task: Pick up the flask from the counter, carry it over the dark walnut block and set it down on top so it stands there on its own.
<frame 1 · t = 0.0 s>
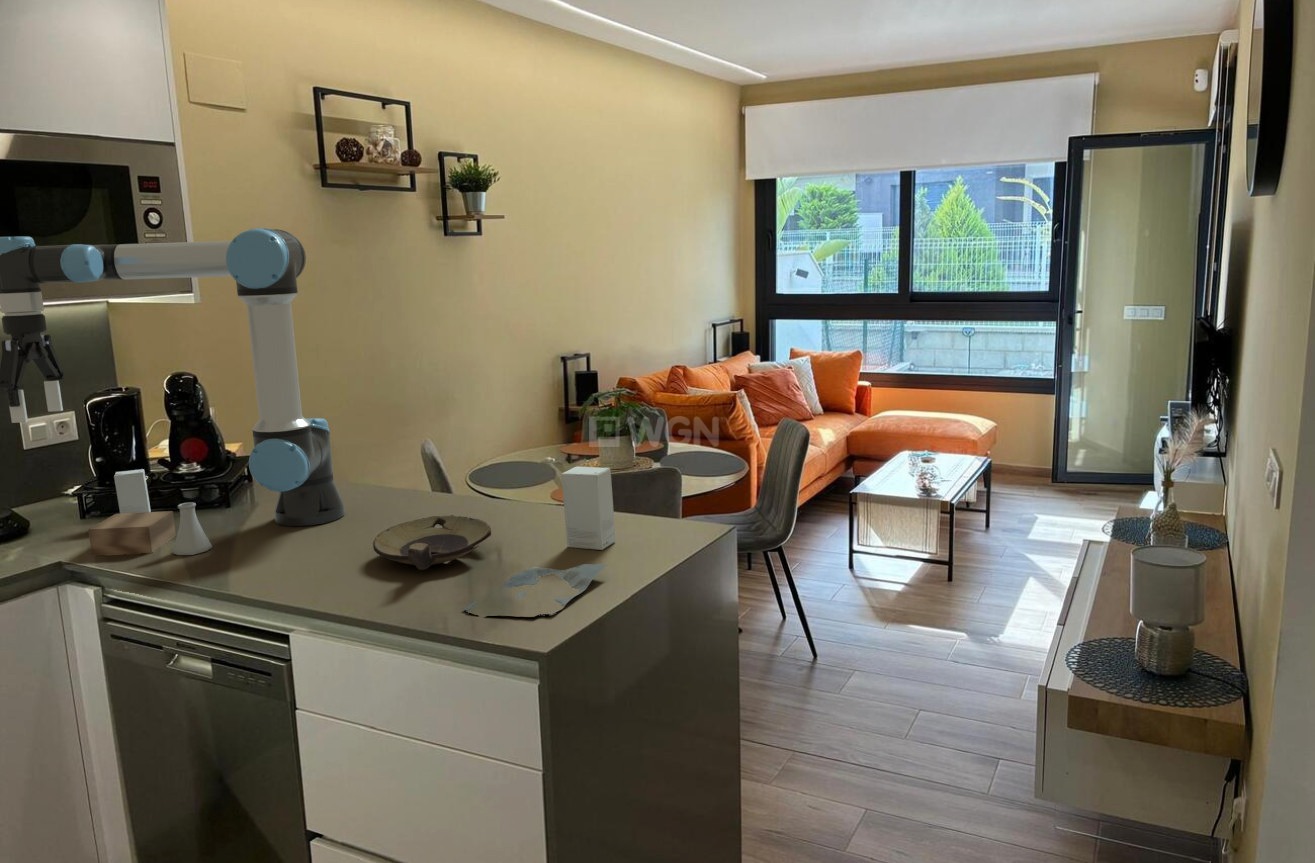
hand: (38, 416, 205), 28 cm above the counter, tool pointing down, fingers open, 13 cm apart
skincare box: (590, 545, 199), on the counter
walnut block: (135, 547, 209), on the counter
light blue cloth: (536, 597, 172), on the counter
flask: (192, 552, 204), on the counter
oil lamp: (426, 562, 192), on the counter
skincare box 2: (136, 523, 227), on the counter
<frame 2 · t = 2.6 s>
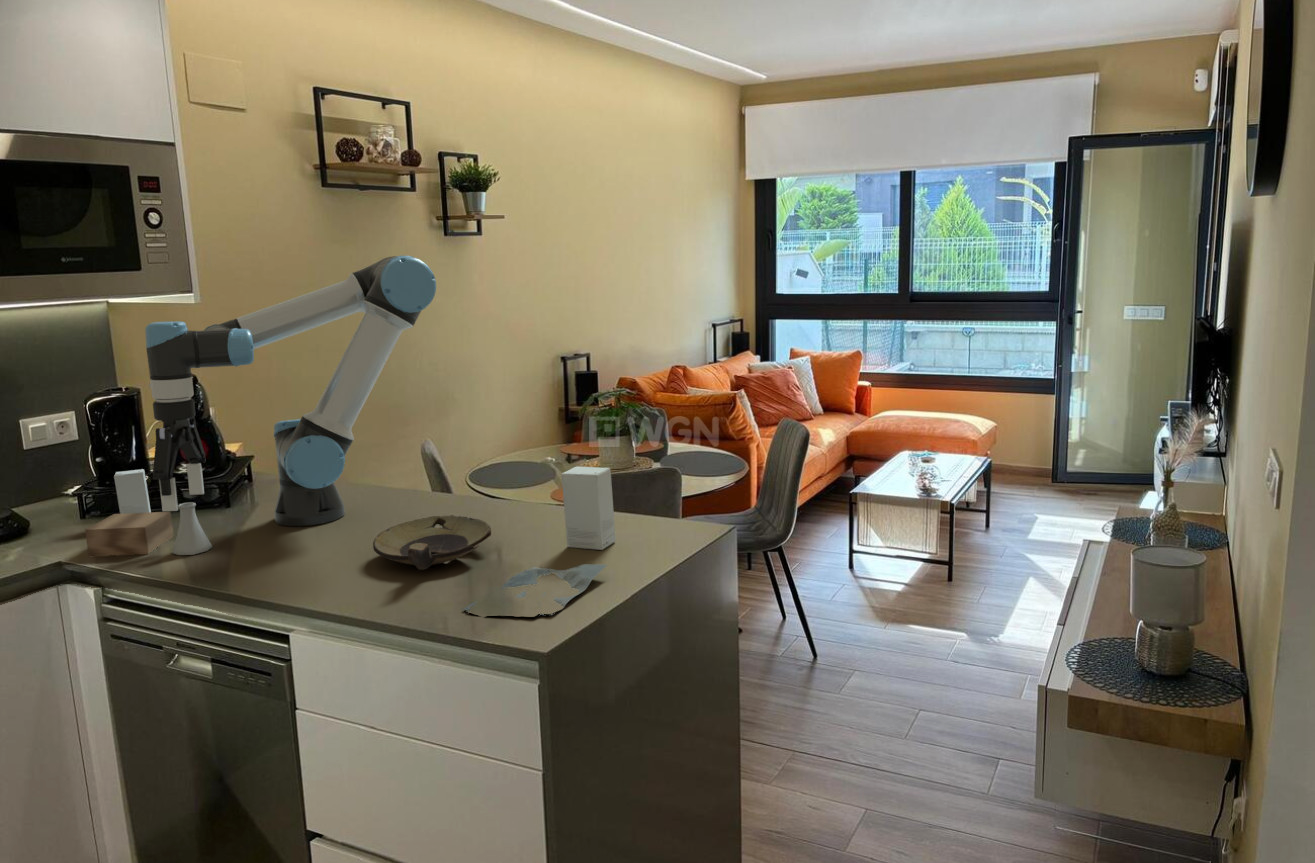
hand: (184, 502, 202), 10 cm above the counter, tool pointing down, fingers open, 13 cm apart
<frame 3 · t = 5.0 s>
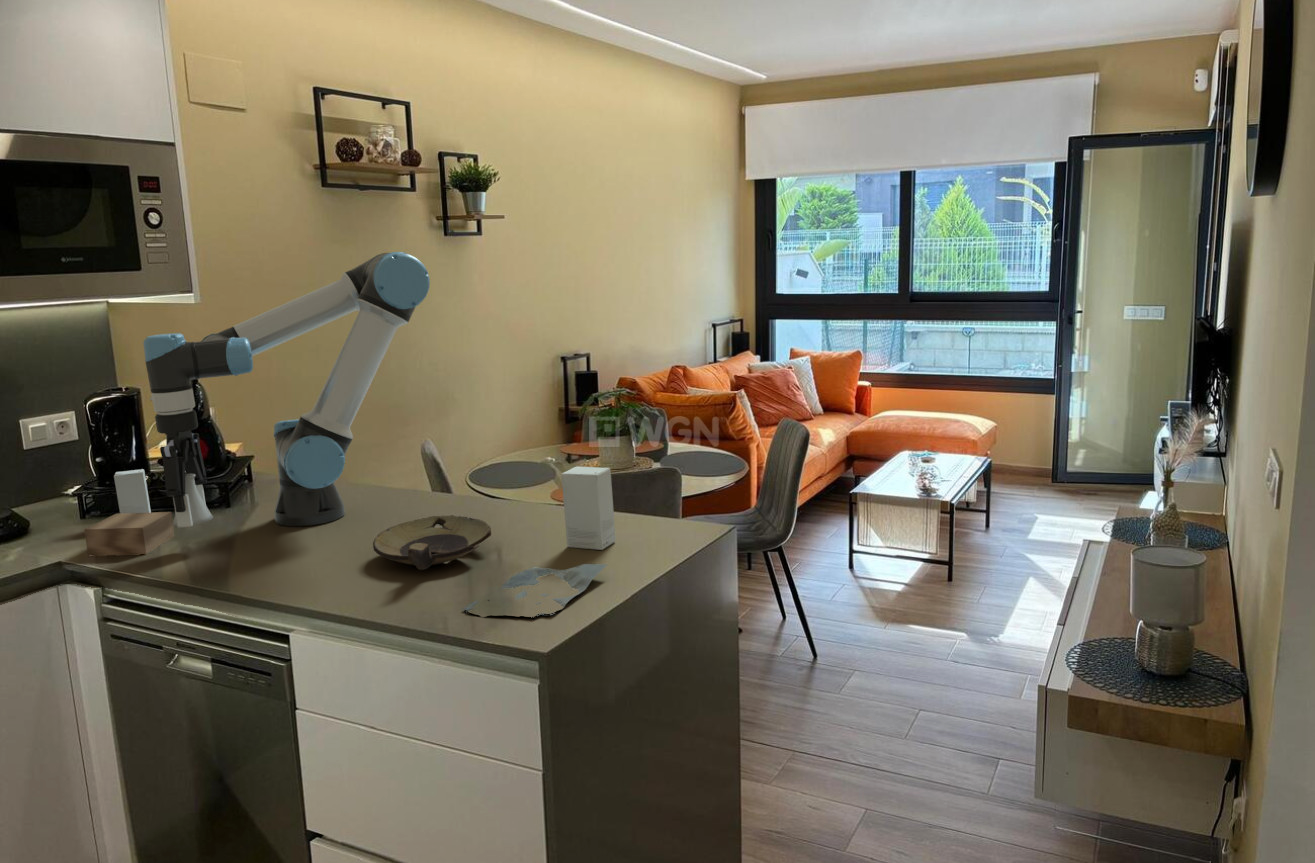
hand: (192, 520, 203), 6 cm above the counter, tool pointing down, fingers closed on flask, 7 cm apart
flask: (193, 523, 203), point 6 cm above the counter, touching gripper
everything else where it was.
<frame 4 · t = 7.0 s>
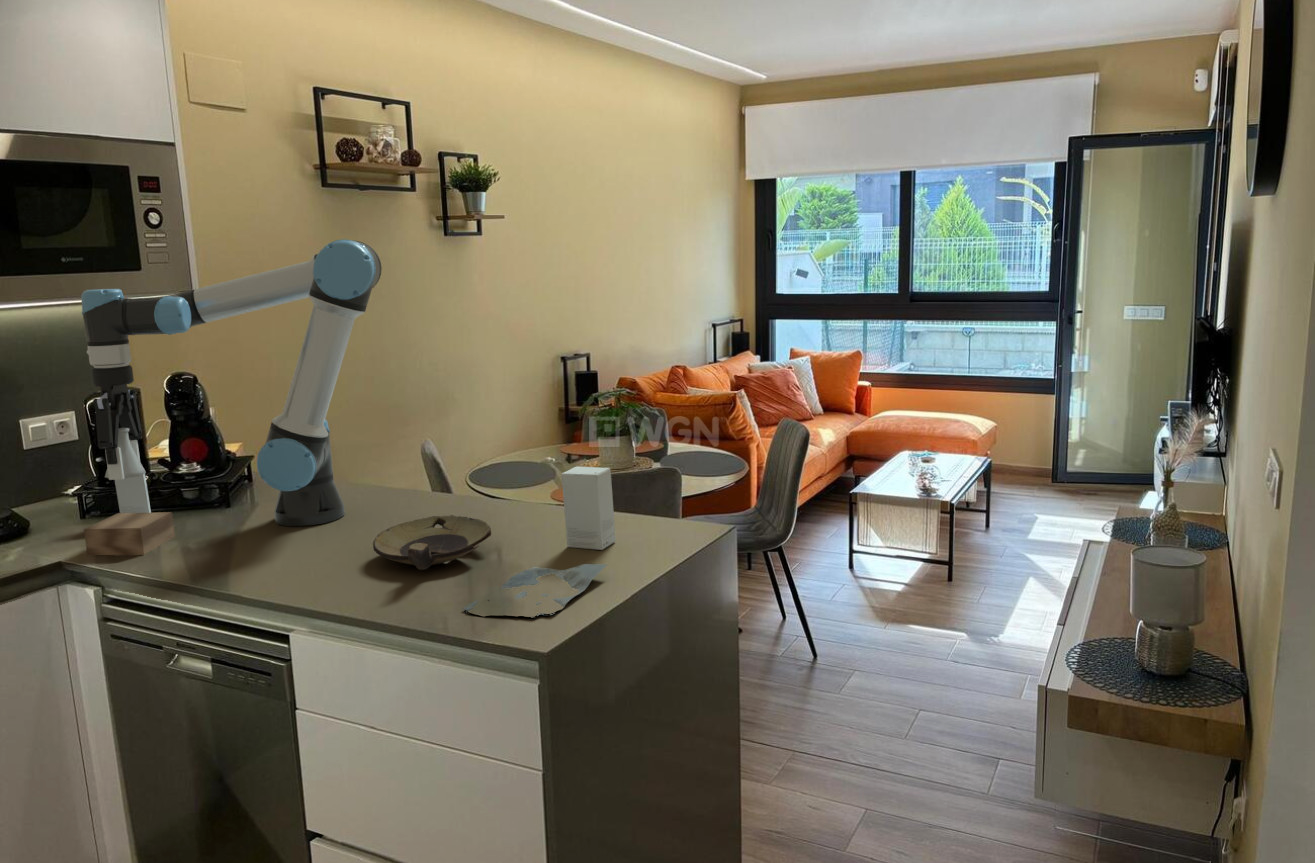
hand: (125, 474, 206), 15 cm above the counter, tool pointing down, fingers closed on flask, 7 cm apart
flask: (125, 477, 206), point 15 cm above the counter, touching gripper
everything else where it was.
when the fingers open (7 cm above the counter, at t = 8.7 s): flask moves 1 cm, resting on walnut block.
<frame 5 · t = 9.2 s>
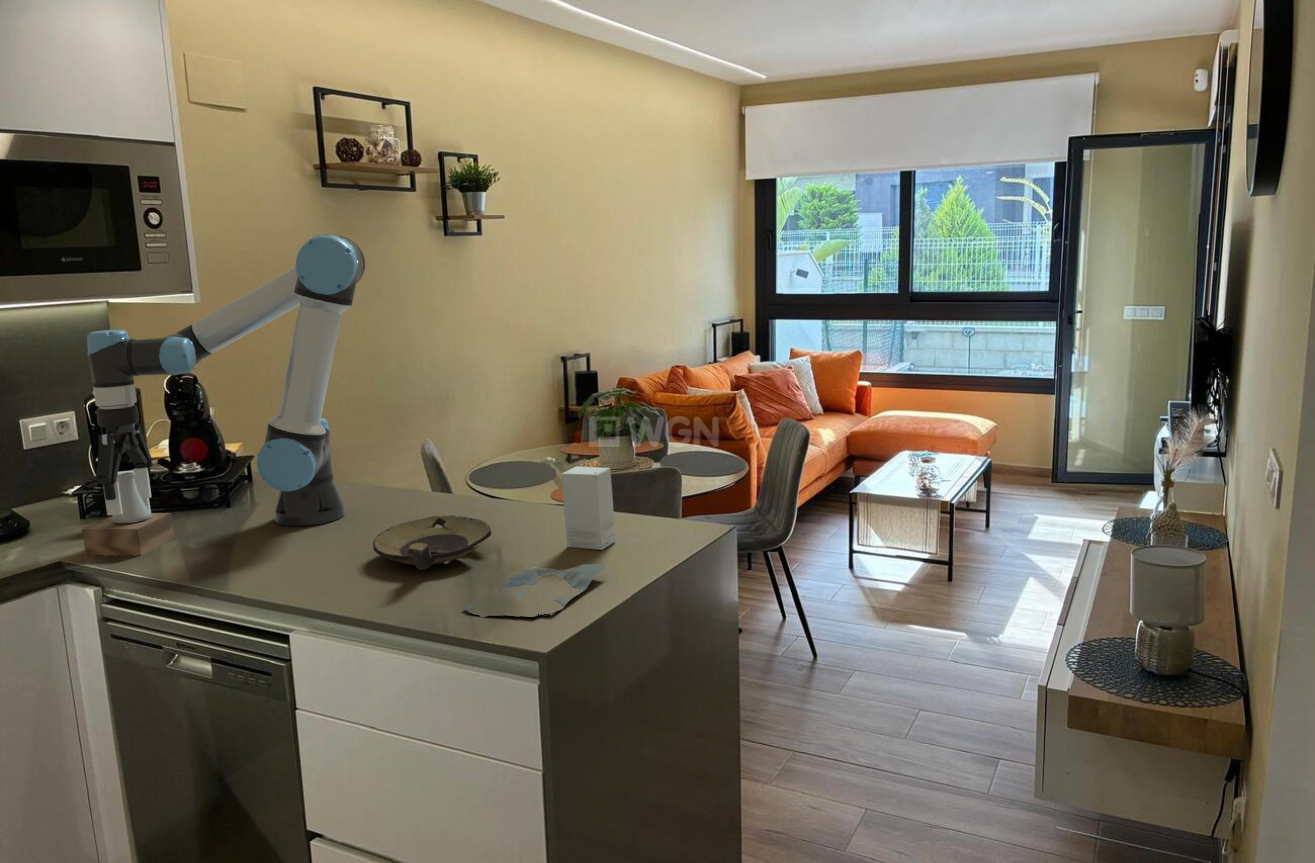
hand: (130, 506, 207), 9 cm above the counter, tool pointing down, fingers open, 13 cm apart
walnut block: (131, 548, 208), on the counter, touching flask
flask: (131, 521, 207), point 5 cm above the counter, touching walnut block
everything else where it was.
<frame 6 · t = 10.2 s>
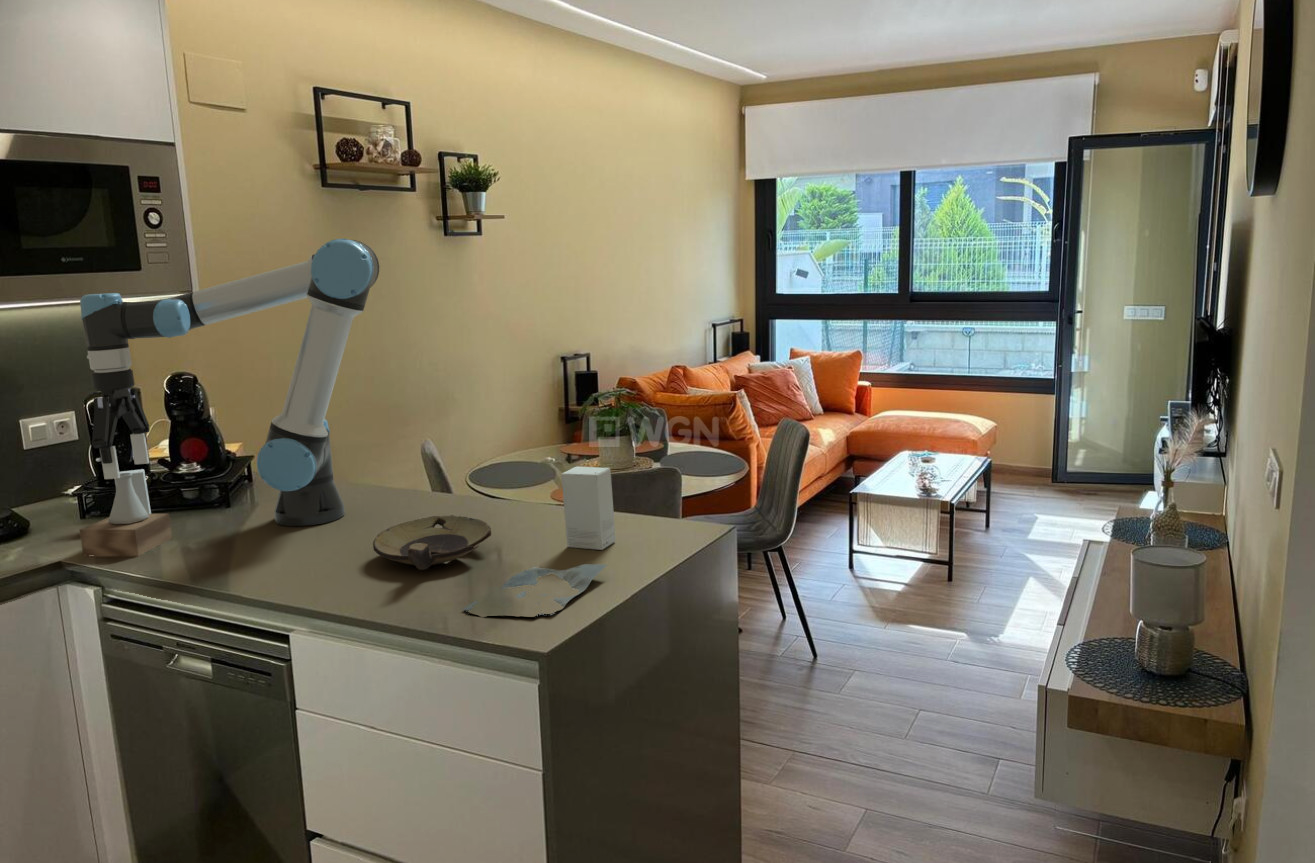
hand: (127, 471, 206), 16 cm above the counter, tool pointing down, fingers open, 13 cm apart
walnut block: (129, 548, 208), on the counter
flask: (129, 521, 207), point 5 cm above the counter
everything else where it was.
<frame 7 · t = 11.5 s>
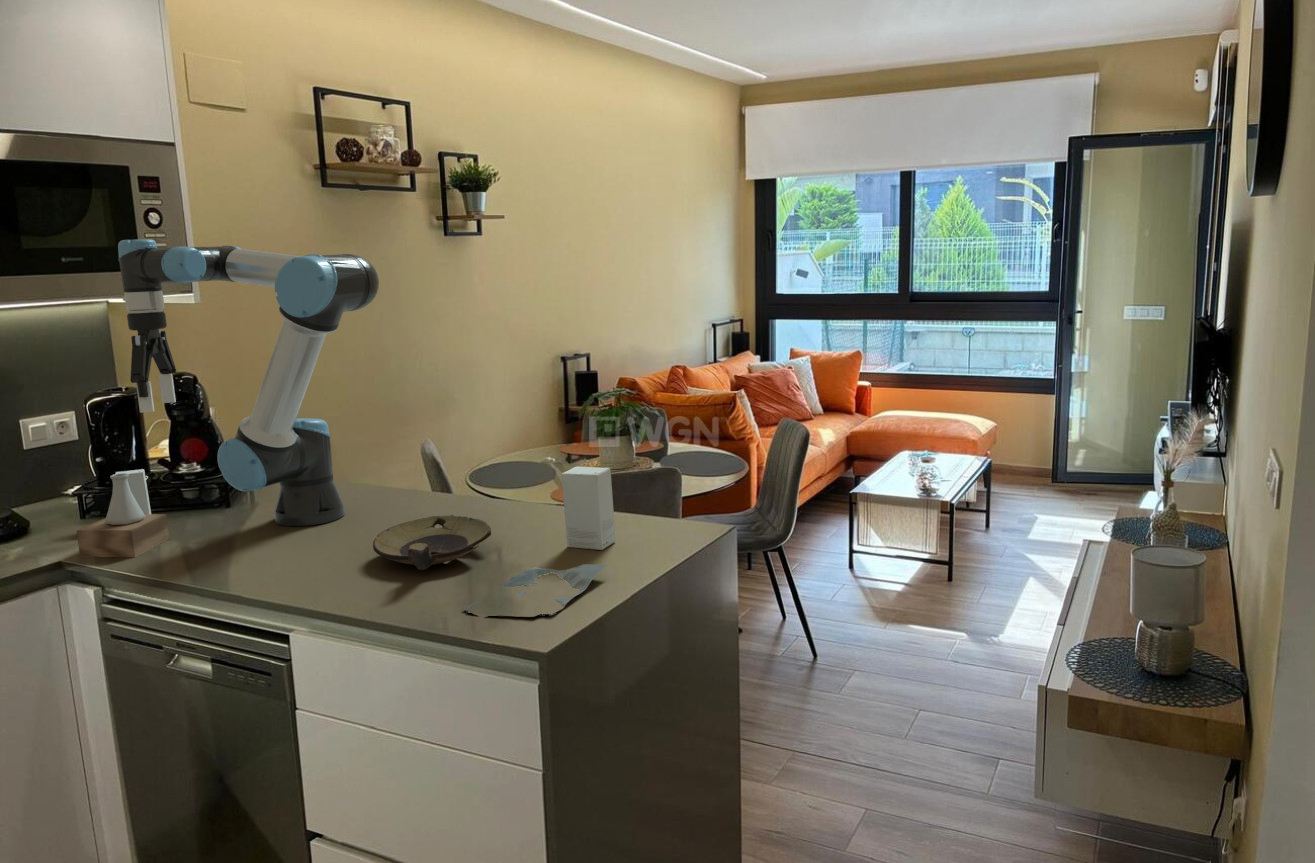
hand: (158, 407, 220), 27 cm above the counter, tool pointing down, fingers open, 13 cm apart
walnut block: (126, 549, 207), on the counter, touching flask
flask: (125, 522, 207), point 5 cm above the counter, touching walnut block
everything else where it was.
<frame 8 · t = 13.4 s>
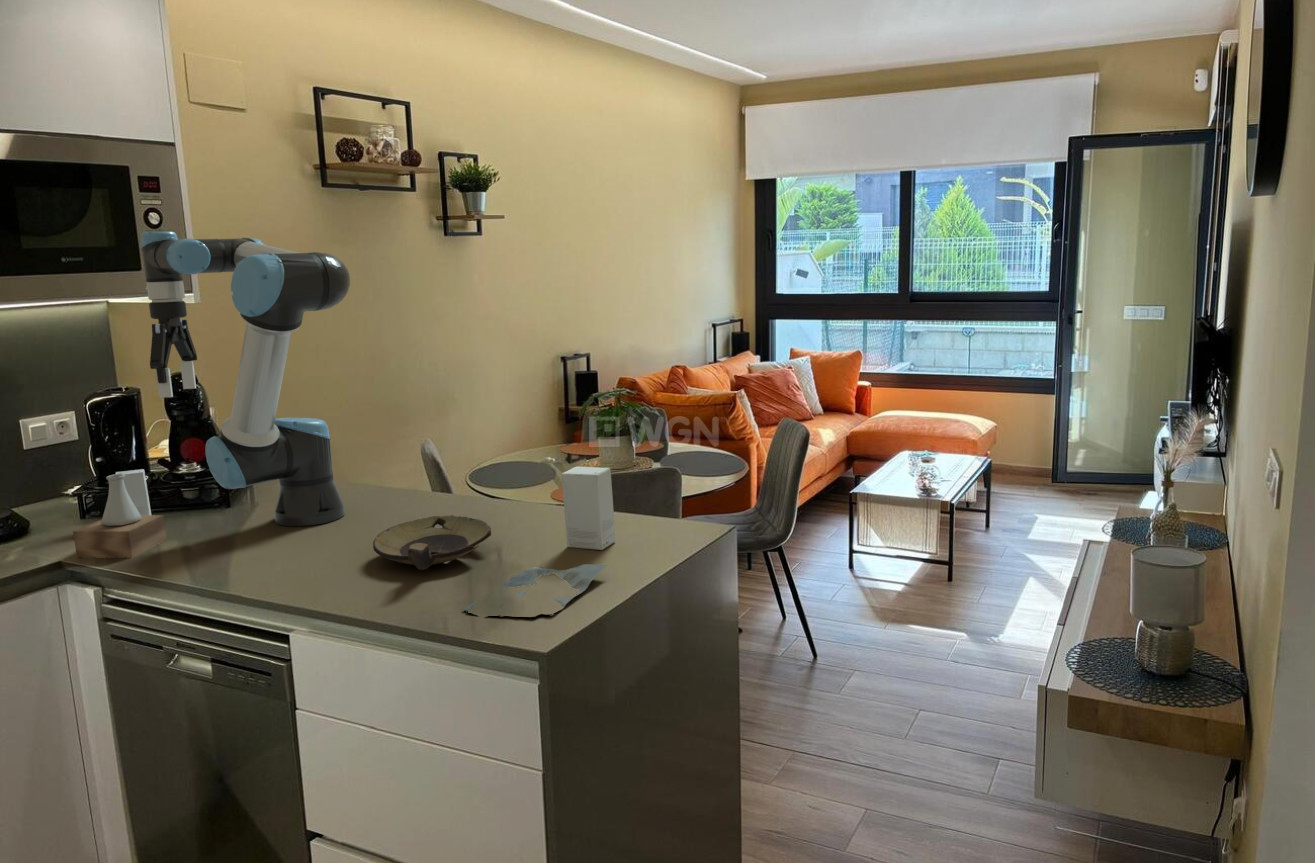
hand: (178, 392, 229), 29 cm above the counter, tool pointing down, fingers open, 13 cm apart
walnut block: (123, 550, 207), on the counter
flask: (122, 523, 206), point 5 cm above the counter
everything else where it was.
at the end: flask inside the target area on the walnut block (0.5 cm from its centre), point 5.8 cm above the walnut block's base; flask tilted 0°; the gripper is holding nothing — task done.
